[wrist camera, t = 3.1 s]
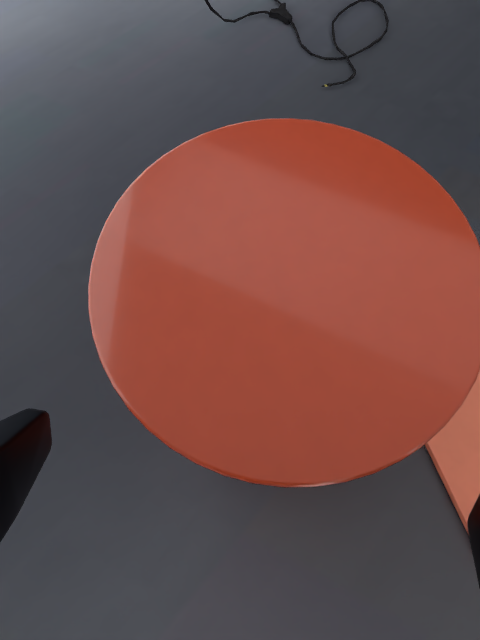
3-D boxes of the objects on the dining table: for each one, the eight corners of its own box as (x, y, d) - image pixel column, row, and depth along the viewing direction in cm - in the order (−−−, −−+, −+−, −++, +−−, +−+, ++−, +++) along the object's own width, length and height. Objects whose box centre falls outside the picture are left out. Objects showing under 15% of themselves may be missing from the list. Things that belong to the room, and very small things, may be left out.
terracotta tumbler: (356, 449, 18) (578, 394, 6) (214, 503, 18) (146, 562, 5) (300, 316, 20) (382, 79, 8) (170, 360, 20) (51, 173, 8)
